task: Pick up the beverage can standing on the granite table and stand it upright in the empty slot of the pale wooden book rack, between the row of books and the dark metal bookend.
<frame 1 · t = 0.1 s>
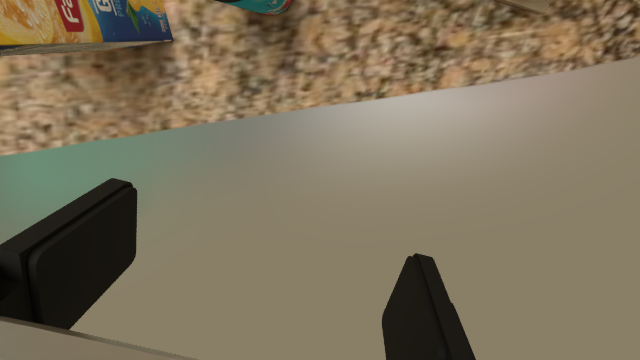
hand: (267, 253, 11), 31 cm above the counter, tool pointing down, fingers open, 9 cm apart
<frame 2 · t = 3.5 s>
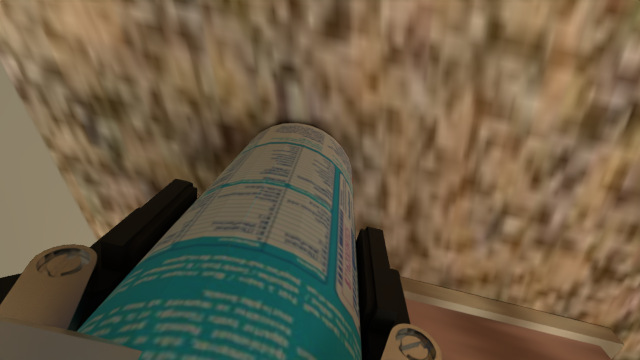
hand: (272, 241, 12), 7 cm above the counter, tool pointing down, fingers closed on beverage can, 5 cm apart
beverage can: (298, 171, 18), on the counter, touching gripper
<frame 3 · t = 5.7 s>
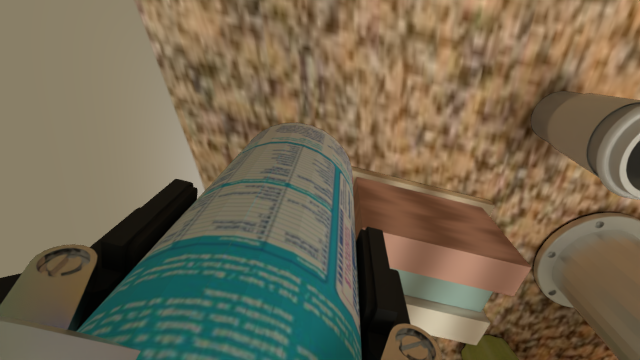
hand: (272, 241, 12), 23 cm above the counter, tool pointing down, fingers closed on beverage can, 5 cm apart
plant pot: (483, 349, 45), on the counter
book rack: (378, 282, 41), on the counter
beverage can: (298, 171, 18), point 16 cm above the counter, touching gripper
cup: (555, 115, 32), on the counter
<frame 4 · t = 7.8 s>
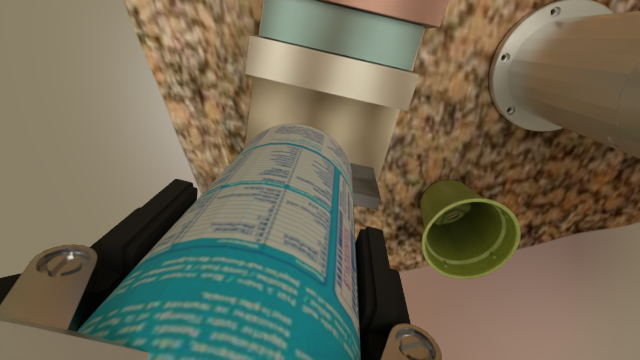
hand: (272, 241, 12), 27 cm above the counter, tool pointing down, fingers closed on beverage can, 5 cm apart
plant pot: (444, 201, 41), on the counter
book rack: (322, 116, 37), on the counter
beverage can: (297, 172, 18), point 20 cm above the counter, touching gripper
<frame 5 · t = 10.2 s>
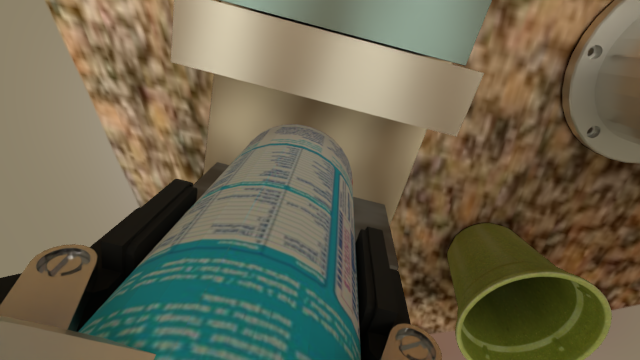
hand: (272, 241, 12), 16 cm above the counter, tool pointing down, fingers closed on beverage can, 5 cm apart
plant pot: (481, 250, 30), on the counter
book rack: (315, 129, 26), on the counter
beverage can: (298, 172, 18), point 9 cm above the counter, touching gripper
when the fingers open (9 cm above the counter, at t = 12.3 s): beverage can drops 2 cm, resting on book rack.
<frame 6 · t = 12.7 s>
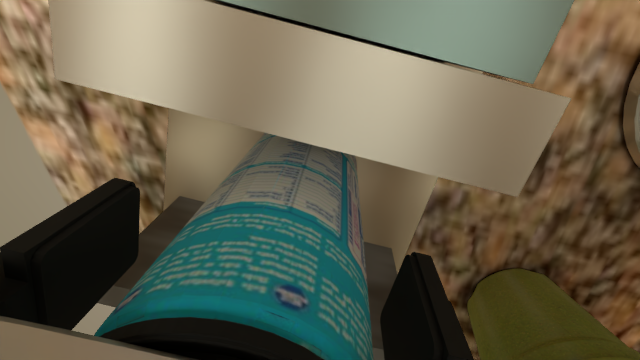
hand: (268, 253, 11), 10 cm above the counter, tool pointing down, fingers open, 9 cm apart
plant pot: (509, 299, 24), on the counter
book rack: (303, 154, 21), on the counter
beverage can: (306, 162, 20), point 1 cm above the counter, touching book rack
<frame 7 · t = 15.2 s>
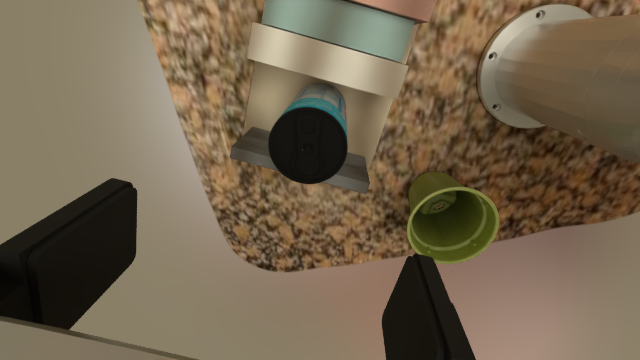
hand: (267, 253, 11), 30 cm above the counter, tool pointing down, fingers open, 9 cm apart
plant pot: (431, 192, 43), on the counter
book rack: (318, 105, 39), on the counter
beverage can: (320, 107, 38), point 1 cm above the counter, touching book rack
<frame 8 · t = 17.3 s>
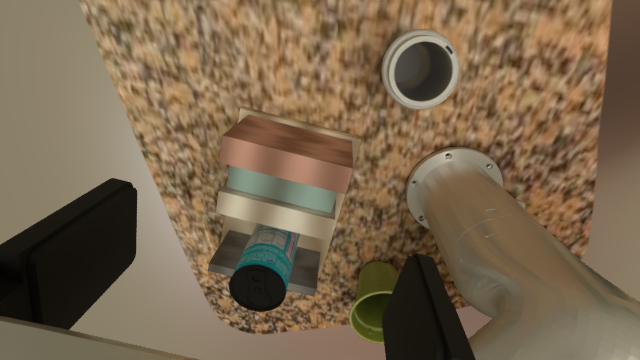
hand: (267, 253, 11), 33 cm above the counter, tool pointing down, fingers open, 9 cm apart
plant pot: (378, 275, 52), on the counter
book rack: (282, 212, 49), on the counter
beverage can: (282, 216, 48), point 1 cm above the counter, touching book rack
cup: (401, 62, 40), on the counter
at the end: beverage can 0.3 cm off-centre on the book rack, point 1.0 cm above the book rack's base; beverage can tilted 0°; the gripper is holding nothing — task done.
